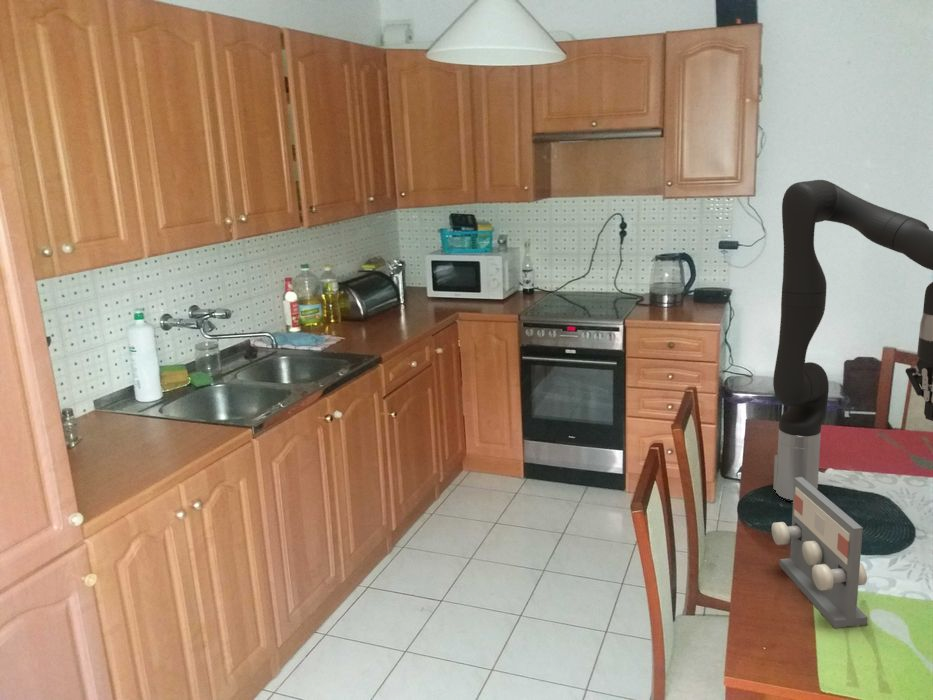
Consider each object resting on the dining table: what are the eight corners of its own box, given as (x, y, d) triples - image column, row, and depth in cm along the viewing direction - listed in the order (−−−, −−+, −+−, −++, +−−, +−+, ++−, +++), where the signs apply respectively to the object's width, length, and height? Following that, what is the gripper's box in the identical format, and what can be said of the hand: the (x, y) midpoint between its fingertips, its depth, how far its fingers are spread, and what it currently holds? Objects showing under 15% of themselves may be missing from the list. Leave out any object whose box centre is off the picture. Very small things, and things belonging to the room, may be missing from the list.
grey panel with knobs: (807, 563, 156) (812, 476, 151) (866, 625, 136) (875, 526, 131) (779, 566, 156) (783, 478, 151) (834, 628, 136) (841, 529, 131)
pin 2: (852, 577, 139) (854, 556, 138) (866, 591, 134) (868, 569, 133) (811, 581, 138) (812, 560, 137) (824, 595, 134) (825, 573, 133)
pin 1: (808, 534, 154) (809, 514, 153) (819, 545, 150) (820, 525, 149) (771, 538, 154) (772, 518, 153) (781, 549, 149) (782, 529, 148)
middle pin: (840, 553, 147) (842, 533, 145) (853, 565, 142) (855, 544, 141) (801, 557, 146) (802, 537, 145) (813, 569, 142) (814, 548, 141)
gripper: (897, 331, 152) (890, 412, 156) (958, 346, 140) (948, 433, 144) (926, 326, 154) (917, 406, 159) (988, 340, 142) (977, 427, 147)
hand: (932, 419), depth 151 cm, fingers closed
